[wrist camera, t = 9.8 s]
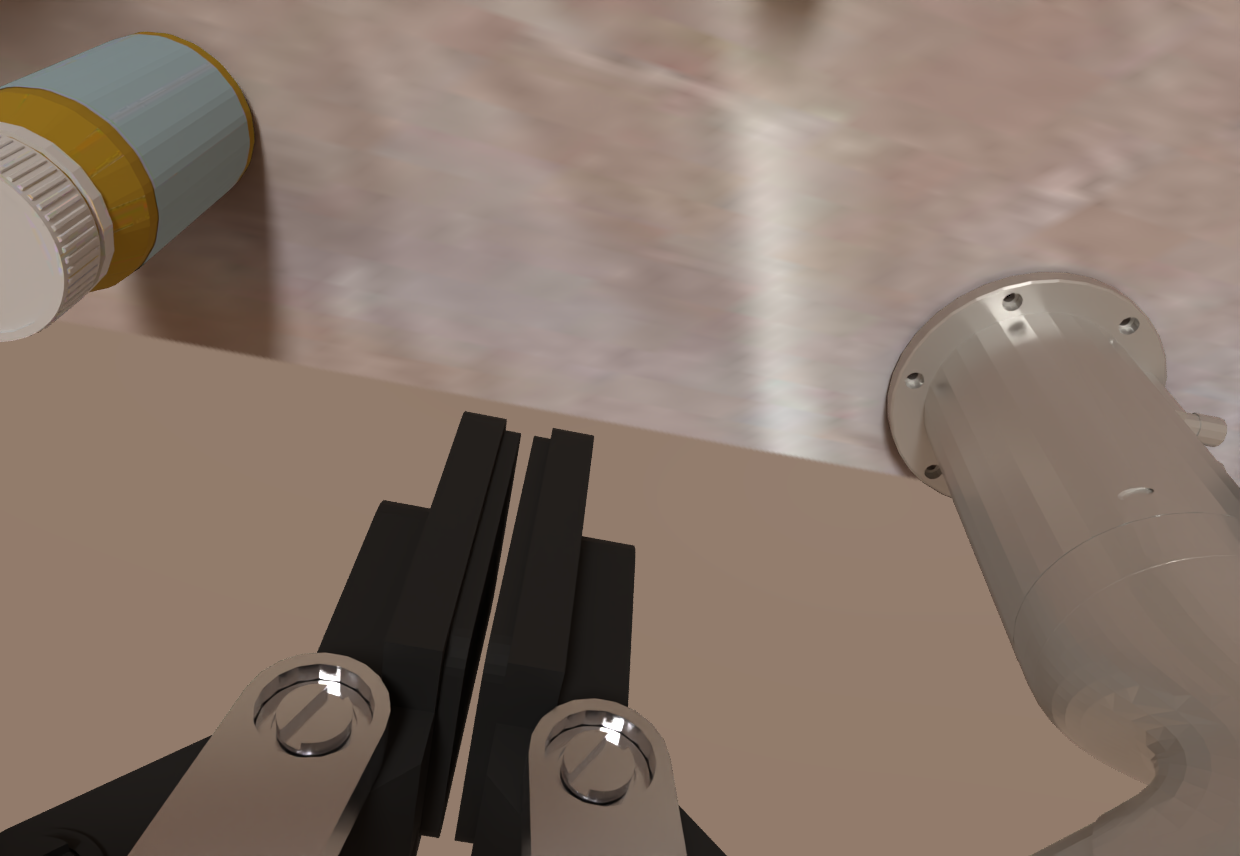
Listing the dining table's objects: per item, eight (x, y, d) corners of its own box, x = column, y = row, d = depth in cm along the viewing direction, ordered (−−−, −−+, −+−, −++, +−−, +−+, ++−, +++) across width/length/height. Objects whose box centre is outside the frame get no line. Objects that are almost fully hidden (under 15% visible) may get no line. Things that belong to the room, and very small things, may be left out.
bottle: (214, 225, 44) (29, 394, 31) (69, 123, 42) (-193, 261, 29) (289, 106, 41) (117, 241, 28) (136, -10, 38) (-124, 80, 26)
